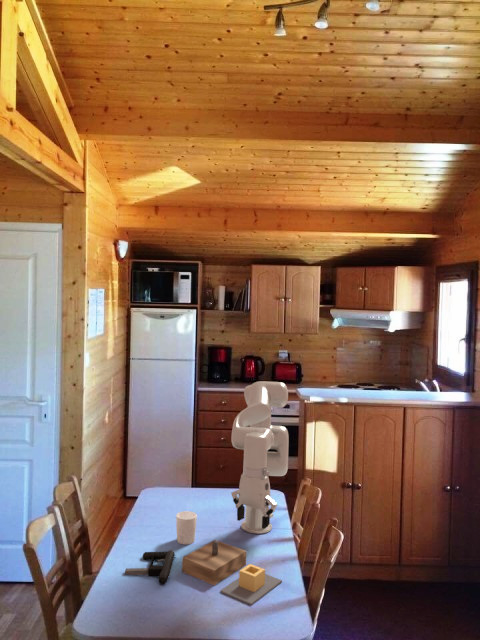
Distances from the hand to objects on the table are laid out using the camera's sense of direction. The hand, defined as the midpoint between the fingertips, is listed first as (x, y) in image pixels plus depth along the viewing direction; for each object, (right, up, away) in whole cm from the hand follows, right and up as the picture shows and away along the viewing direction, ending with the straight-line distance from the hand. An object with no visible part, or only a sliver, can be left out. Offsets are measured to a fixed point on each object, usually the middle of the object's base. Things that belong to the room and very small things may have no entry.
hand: (252, 523), depth 176 cm
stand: (-13, -20, +11) cm, 26 cm away
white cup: (-25, -19, +32) cm, 45 cm away
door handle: (-35, -20, +9) cm, 41 cm away
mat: (0, -21, -1) cm, 20 cm away
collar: (0, -20, -1) cm, 20 cm away
